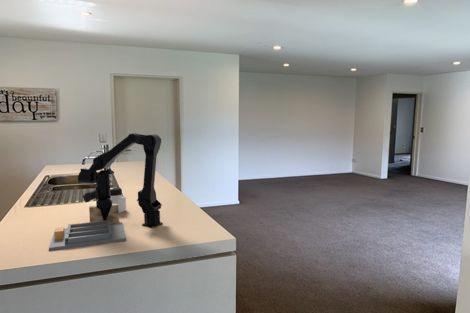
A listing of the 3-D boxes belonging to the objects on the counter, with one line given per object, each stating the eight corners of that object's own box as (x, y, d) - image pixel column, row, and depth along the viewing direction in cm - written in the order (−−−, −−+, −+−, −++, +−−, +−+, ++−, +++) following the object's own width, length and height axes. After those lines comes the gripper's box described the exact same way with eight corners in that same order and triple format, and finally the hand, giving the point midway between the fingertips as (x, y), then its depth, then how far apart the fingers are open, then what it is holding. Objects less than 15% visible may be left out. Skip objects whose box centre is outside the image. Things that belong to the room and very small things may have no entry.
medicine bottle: (126, 210, 172) (125, 187, 171) (118, 213, 166) (117, 189, 164) (114, 209, 174) (113, 186, 173) (105, 212, 168) (104, 189, 166)
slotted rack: (121, 224, 148) (121, 215, 148) (126, 240, 128) (126, 230, 128) (55, 231, 138) (54, 222, 138) (48, 250, 118) (48, 239, 118)
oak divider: (118, 220, 155) (117, 203, 154) (118, 222, 152) (118, 204, 151) (90, 223, 150) (89, 206, 149) (90, 225, 147) (89, 207, 147)
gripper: (83, 181, 155) (85, 214, 156) (82, 189, 138) (84, 226, 139) (109, 180, 159) (110, 212, 161) (111, 187, 142) (112, 223, 143)
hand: (104, 218), depth 151 cm, fingers open, 7 cm apart
